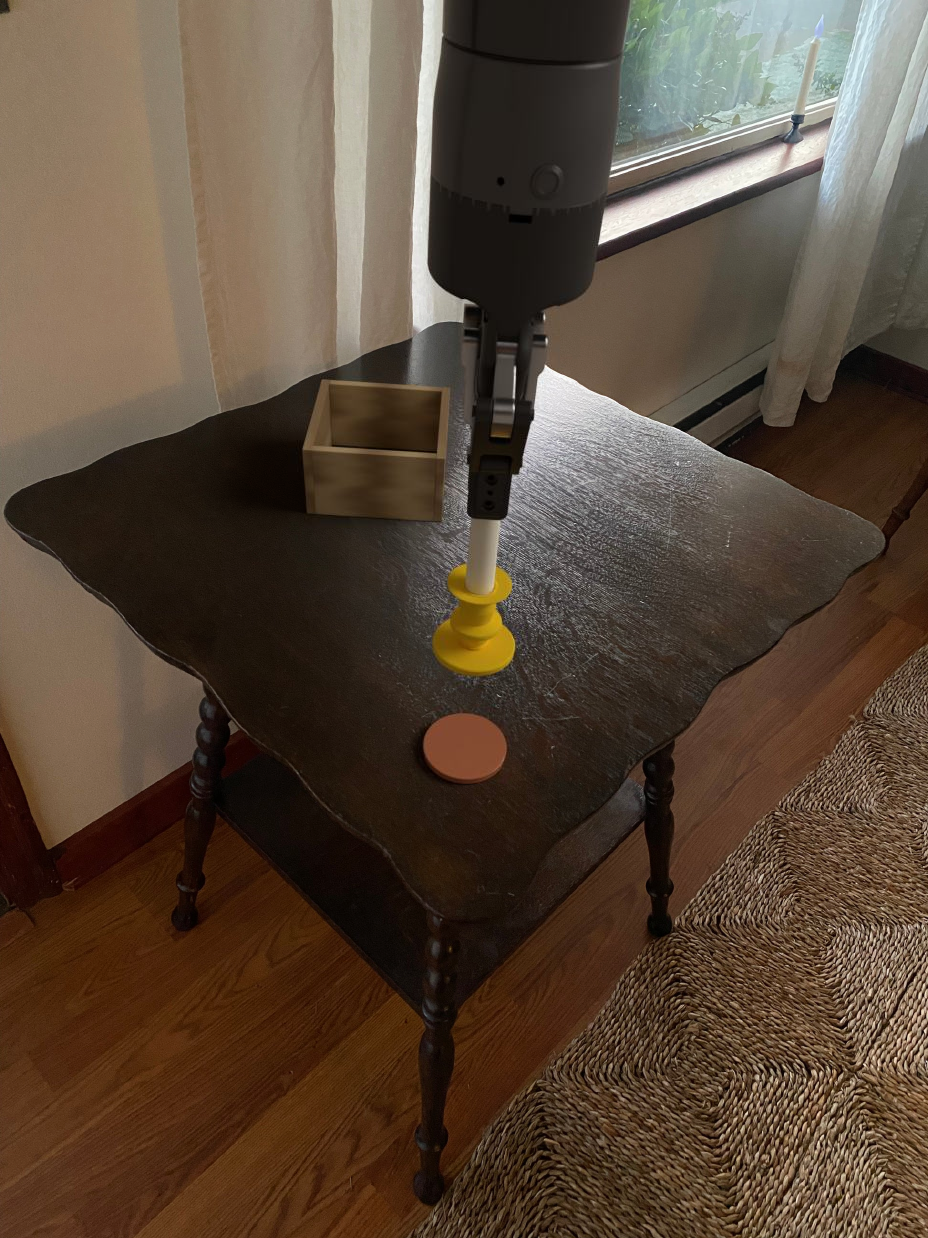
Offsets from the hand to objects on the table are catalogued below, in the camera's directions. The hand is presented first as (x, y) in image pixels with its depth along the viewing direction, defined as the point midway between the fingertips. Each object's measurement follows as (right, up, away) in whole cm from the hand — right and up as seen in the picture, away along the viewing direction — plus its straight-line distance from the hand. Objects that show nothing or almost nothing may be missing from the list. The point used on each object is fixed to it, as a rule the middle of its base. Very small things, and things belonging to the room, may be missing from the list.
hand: (486, 503), depth 49 cm
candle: (-1, -8, +7) cm, 11 cm away
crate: (-10, +7, +39) cm, 41 cm away
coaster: (-1, -16, +15) cm, 22 cm away
